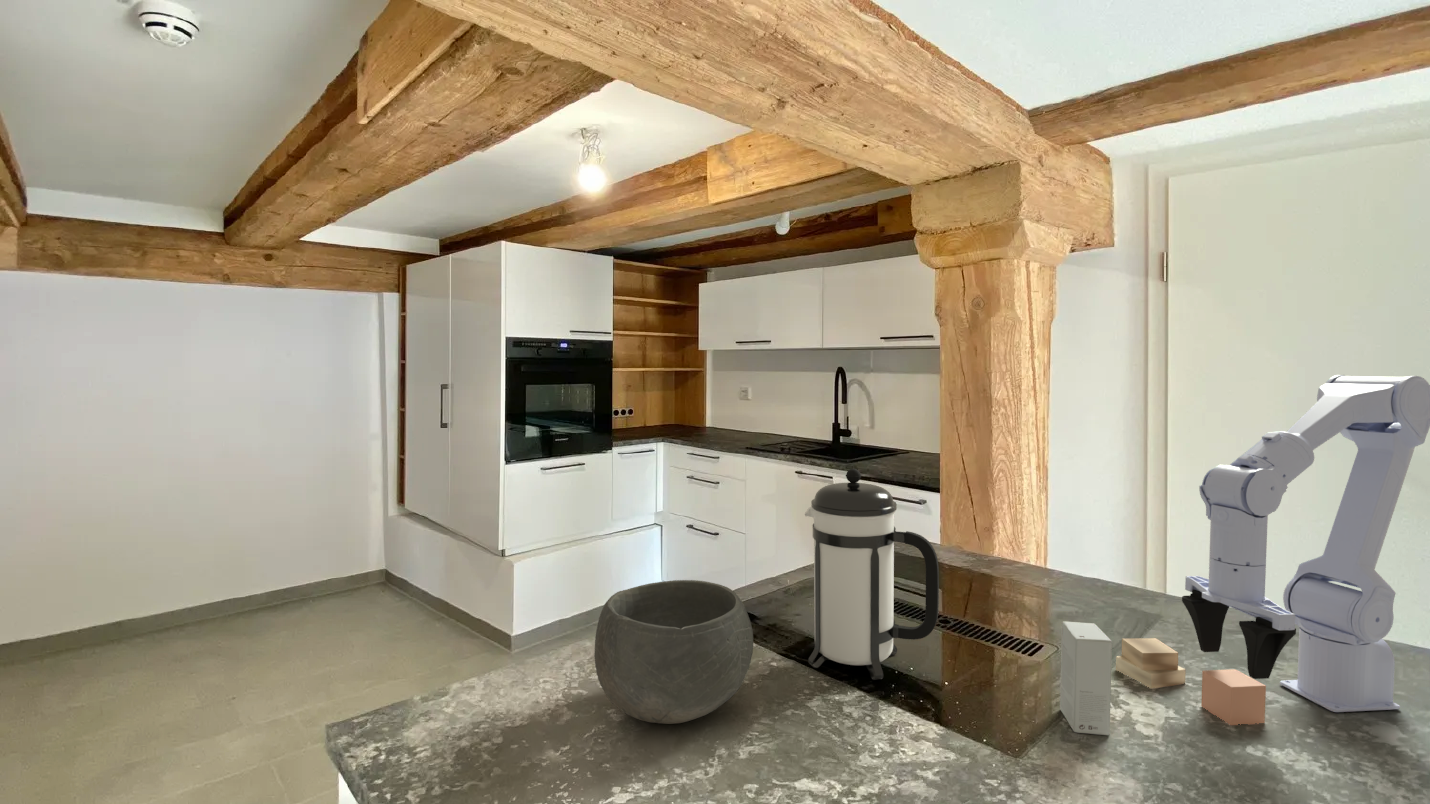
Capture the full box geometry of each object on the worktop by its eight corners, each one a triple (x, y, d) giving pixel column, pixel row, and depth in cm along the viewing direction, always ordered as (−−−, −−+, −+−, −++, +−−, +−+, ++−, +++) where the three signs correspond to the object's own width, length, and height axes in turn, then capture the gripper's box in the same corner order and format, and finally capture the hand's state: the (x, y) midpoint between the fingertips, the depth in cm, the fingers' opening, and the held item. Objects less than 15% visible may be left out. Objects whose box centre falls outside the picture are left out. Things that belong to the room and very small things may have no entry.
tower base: (1148, 667, 101) (1149, 651, 101) (1185, 686, 95) (1185, 669, 95) (1115, 672, 100) (1116, 656, 100) (1150, 691, 94) (1151, 674, 94)
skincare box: (1111, 737, 82) (1113, 641, 81) (1073, 733, 83) (1075, 638, 82) (1093, 711, 88) (1095, 622, 87) (1058, 708, 89) (1060, 620, 88)
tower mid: (1155, 654, 100) (1155, 638, 100) (1177, 670, 95) (1178, 652, 95) (1121, 655, 100) (1121, 638, 100) (1142, 670, 95) (1142, 653, 95)
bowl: (731, 665, 103) (729, 569, 102) (775, 739, 82) (774, 620, 82) (591, 683, 98) (589, 582, 97) (602, 766, 77) (599, 639, 77)
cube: (1234, 705, 89) (1235, 669, 89) (1264, 724, 85) (1265, 685, 84) (1201, 707, 89) (1202, 670, 89) (1230, 725, 84) (1231, 687, 84)
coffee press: (831, 692, 94) (830, 480, 92) (791, 645, 110) (790, 464, 108) (941, 677, 98) (942, 474, 97) (888, 634, 114) (888, 459, 112)
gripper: (1165, 545, 93) (1162, 641, 93) (1257, 578, 78) (1252, 692, 79) (1213, 544, 93) (1210, 639, 94) (1313, 577, 79) (1309, 689, 79)
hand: (1233, 663), depth 86 cm, fingers open, 7 cm apart
